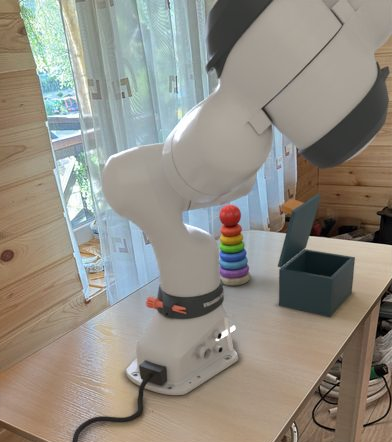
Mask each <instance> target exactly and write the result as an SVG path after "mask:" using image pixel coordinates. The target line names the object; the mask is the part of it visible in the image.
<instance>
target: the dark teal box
mask: <svg viewBox="0 0 392 442" xmlns="http://www.w3.org/2000/svg"><path fill="white" fill-rule="evenodd" d="M355 262H356V257H355V256H351V255H350V256H349V255H343V254H339V253H338V254H337V253H331V252H325V251H319V250H312V249H306V248H305V249H304V250H302V251H301V252H300V253H299V254H297V255H296V256H295V257H294V258H292V259H291V260H290V261H289V262H287V263H286V264H285V265H284V266H282V267H281V268H280V267H279V268H278V276H279V277H278V307H279V306H280V307H284V308H288V309H293V310H296V311H302V312H305V313H310V314H313V315H319V316H323V317H327V318H331V317H332V316H333V315H334V313H335V312H336V311H337V310H339V308H340V307H341V306H342V305H343V304H344V303H345V301H346V300H347V299H348V298H349V297H350V296H351V295H352V293H353V285H354V284H353V283H354V273H355ZM321 274H322V275H326V276H322V275H321ZM327 276H330V277H327Z"/></svg>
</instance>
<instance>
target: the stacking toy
mask: <svg viewBox="0 0 392 442" xmlns="http://www.w3.org/2000/svg"><path fill="white" fill-rule="evenodd" d="M218 216H219V221H220V223H221V224H222V225H221V227H220V231H219V232H220V234H221V235H220V237H219V241H220V243H219V249H220V250H219V267H220V279H221V280H222V282H223V285H226V286H241V285H243V284H245V283H247V282H248V281H250V279H251V272H250V265H249V264H248V262H249V258H248V257H247V250H246V248H245V247H246V245H245V242H244V235H243V233H242V231H243V227H242V225H240V224H239V223H240V221H241V219H242V213H241V210H240V208H239V207H238V206H237V205H235V204H226V205H224V206H222V208H221V209H220V210H219V215H218Z"/></svg>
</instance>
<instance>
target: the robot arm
mask: <svg viewBox="0 0 392 442" xmlns="http://www.w3.org/2000/svg"><path fill="white" fill-rule="evenodd" d="M390 37H392V0H213V3H212V4H211V8H210V10H209V12H208V14H207V17H206V23H205V35H204V44H205V49H206V52H207V54H206V55H207V57H208V62H207V64H206V65H205V66H204V71H205V72H206V75H209V74H210V73H212V71H215V74H216V79H217V80H218V83H217V86H216V88H214V90H213V91H212V92H211V93H210V94H209V95H208V96H207V97H205V98H204V99H203V100H201V101H200V102H198V103H197V104H196V105H195V106H193V107H192V108H191V109H190V110H189V111H188V112H187V113H185V114H184V116H183V117H182V118H181V119H180V120H179V122H178V123H177V124H176V126H175V127H174V128H173V129H172V130H171V132H170V133H169V135H168V136H167V138H166V139H165V142H158V143H151V144H145V145H143V144H142V145H137V146H133V147H131V148H128V149H125V150H122V151H120V152H117V153H115V154H114V153H113V154H112V155H110V156H109V157H108V159H107V160H106V162H105V164H104V166H103V168H102V172H101V189H102V193H103V197H104V198H105V201H106V202H107V204H108V206H109V207H110V208H111V209H112V210H113V211H114V212H115V213H116V214H117V215H119V216H120V217H121V218H124V219H126V220H128V221H129V222H131V223H132V224H134V226H136V227H138V228H139V230H140V231H142V233H143V234H144V235H145V237H146V238H147V240H148V241H149V243H150V245H151V247H152V250H153V252H154V257H155V261H156V266H157V273H158V278H159V286H158V290H157V297H156V298H155V297H153V296H148V297H147V298H146V301H145V305H146V307H147V308H149V309H153V310H155V312H154V314H153V316H152V317H151V319H150V321H149V322H148V324H147V326H146V327H145V329H144V330H143V333H142V334H141V336H140V338H139V339H138V341H137V344H136V358H134V360H133V361H132V362H131V363H130V364H129V365H128V366H127V368H125V375H126V377H127V378H128V379H129V381H131V382H132V383H134V384H135V385H137V386H139V387H138V395H137V410H136V412H135V413H133V414H131V415H128V416H125V417H124V416H123V417H121V416H120V417H117V416H106V415H105V416H104V415H103V416H101V415H100V416H95V417H92V418H89V419H87V420H86V421H84V422H83V423H81V424H80V425H79V426H78V427H77V428H76V430H75V431H74V434H73V437H72V440H71V442H79V437H80V435H81V433H82V432H83V431H84V429H86V428H87V427H89V426H90V425H92V424H94V423H99V422H110V423H128V422H131V421H134V420H136V419H137V418H139V417H140V416H141V415H142V413H143V410H144V405H143V404H144V403H143V402H144V401H143V399H144V390H148V391H151V392H154V393H158V394H161V395H166V396H167V395H169V396H184V395H187V394H189V392H192V391H193V390H195V389H196V388H198V387H199V386H200V385H202V384H204V383H205V382H207V381H209V380H210V379H212V378H213V377H215V376H216V375H217V374H220V373H221V372H223V371H224V370H225V369H227V368H229V367H230V366H232V365H234V364H235V363H236V362H238V361H239V355H238V352H237V351H236V349H235V348H234V344H233V338H232V332H233V331H235V330H236V326H235V325H232V326H231V324H230V320H229V317H228V315H227V312H226V310H225V307H224V304H223V303H224V301H225V295H224V293H225V288H224V284H223V282H222V280H221V279H220V264H219V260H220V250H219V245H218V243H217V240H216V239H215V237H214V236H213V234H211V233H210V232H208V231H207V230H204V229H202V228H200V227H197V226H193V225H190V224H187V223H185V222H184V219H183V214H184V212H188V211H194V210H195V211H196V210H200V209H206V208H212V207H218V206H222V205H225V204H229V203H231V202H233V201H236V200H239V199H241V198H243V197H246V196H248V195H249V194H250V192H251V191H252V189H253V187H254V185H255V183H256V179H257V174H258V172H259V170H260V169H262V167H263V166H264V164H265V163H266V161H267V159H268V157H269V155H270V152H271V150H272V146H273V140H274V129H273V127H274V128H275V129H276V130H277V131H278V132H279V133H280V134H281V135H282V136H283V137H284V138H286V140H287V141H288V142H290V143H291V144H292V145H293V146H295V148H297V149H298V150H297V153H298V155H300V156H301V158H303V159H304V160H306V161H307V162H309V163H310V164H311V165H313V166H315V167H317V168H318V169H321V170H325V169H332V168H336V167H338V166H340V165H342V164H343V163H346V162H348V161H349V160H350V161H351V160H352V159H354V158H355V157H357V156H359V155H360V154H362V152H364V151H365V150H366V149H367V148H368V147H369V146H370V144H371V143H372V142H373V141H374V139H375V138H376V136H377V135H378V133H379V132H380V131H381V129H382V128H383V126H384V125H385V123H386V122H387V116H388V110H389V103H390V97H389V92H388V87H387V83H386V81H387V79H388V77H389V75H390V73H391V72H390V67H389V66H388V65H387V66H384V67H382V68H381V66H380V64H379V61H377V60H376V57H375V52H377V50H379V49H380V48H382V46H383V45H385V43H386V42H387V41H388V40H389V39H390Z"/></svg>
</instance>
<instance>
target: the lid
mask: <svg viewBox="0 0 392 442" xmlns="http://www.w3.org/2000/svg"><path fill="white" fill-rule="evenodd" d="M321 197H322V194H320V193H317V194H315V195H314V196H312V197H311V198H309V199H308V200H307V201H305V202H302V201H300V200H298V199H294V198H290V199H289V200H287V201H286V202H284V203H282V204H281V206H280V211H281V212H283V213H286V214H288V215H290V216H289V222H288V224H287V229H286V231H285V232H286V233H285V237H284V241H283V243H282V244H283V245H282V247H281V251H280V255H279V256H280V257H279V258H278V259H279V260H278V263H277V267H278V268H279V269H280V268H281V267H283V266H284V265H285V264H286V263H288V262H289V261H290V260H291V259H293V258H294V257H295V256H296V255H298V254H299V253H300V252H301V251H303V250H304V249H306V248H307V245H308V243H309V238H310V235H311V231H312V228H313V224H314V222H315V218H316V215H317V211H318V207H319V203H320V201H321Z"/></svg>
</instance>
